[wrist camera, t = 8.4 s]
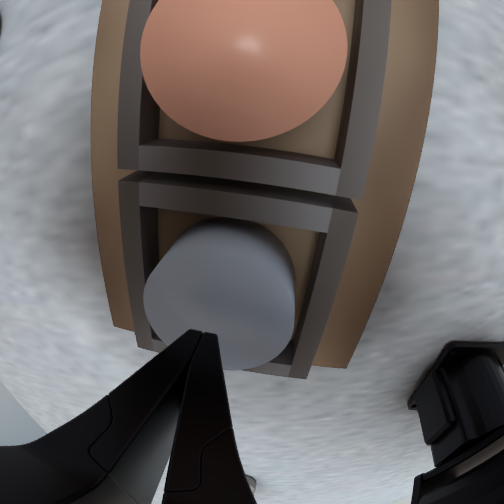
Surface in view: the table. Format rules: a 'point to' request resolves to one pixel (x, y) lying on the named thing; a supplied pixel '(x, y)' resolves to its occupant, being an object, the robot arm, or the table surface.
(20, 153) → the table surface
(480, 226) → the table surface
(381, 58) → the button panel
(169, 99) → the terracotta button
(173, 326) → the blue-grey flat rounded piece
